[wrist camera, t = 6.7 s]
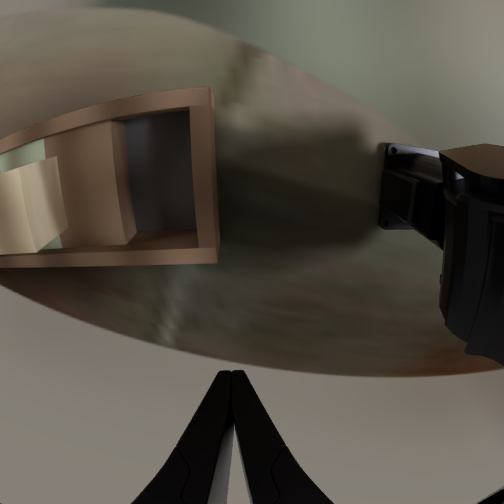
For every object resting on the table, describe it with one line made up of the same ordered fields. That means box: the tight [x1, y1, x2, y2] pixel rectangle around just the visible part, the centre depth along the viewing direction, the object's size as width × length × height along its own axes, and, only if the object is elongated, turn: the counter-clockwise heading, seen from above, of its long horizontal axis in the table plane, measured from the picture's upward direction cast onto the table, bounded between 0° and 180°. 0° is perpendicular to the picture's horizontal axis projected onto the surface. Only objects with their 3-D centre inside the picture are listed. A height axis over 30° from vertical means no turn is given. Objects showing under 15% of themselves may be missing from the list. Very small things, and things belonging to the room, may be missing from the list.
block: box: [0, 156, 69, 255], centre depth 13 cm, size 5×5×4 cm
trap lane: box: [0, 87, 220, 268], centre depth 15 cm, size 23×10×4 cm, turn 91°
